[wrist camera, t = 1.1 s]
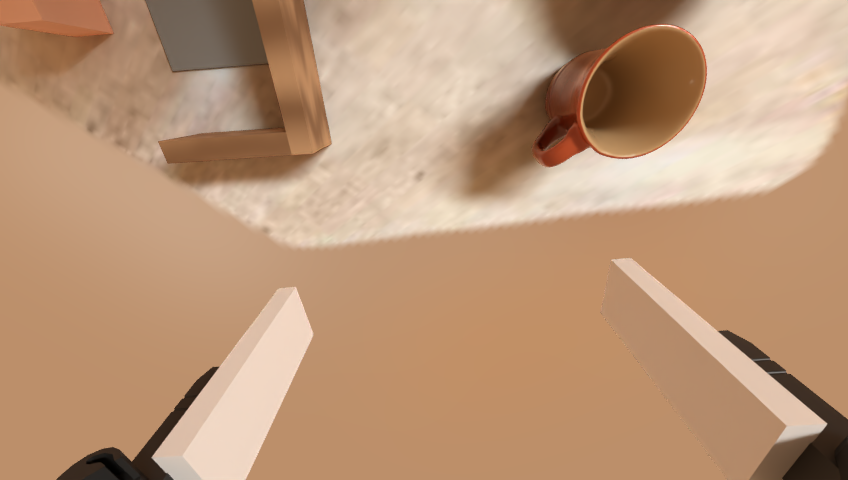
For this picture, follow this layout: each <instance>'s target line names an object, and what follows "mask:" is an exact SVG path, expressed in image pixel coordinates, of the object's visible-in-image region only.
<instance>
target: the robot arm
mask: <svg viewBox="0 0 848 480" xmlns="http://www.w3.org/2000/svg"><path fill="white" fill-rule="evenodd" d="M601 314H602V315H603V317H604V318H605V320H606V321H607V322H608V323H609V325H610V326H611V327H612V329H613V330H614V331H615V333H616V334H617V335H618V336H619V338H620V339H621V341H622V342H623V343H624V344H625V346H626V347H627V348H628V350H629V351H630V352H631V354H632V355H633V356H634V358H635V359H636V360H637V361H638V363H639V364H640V365H641V367H642V368H643V369H644V371H645V372H646V373H647V375H648V376H649V377H650V378H651V380H652V381H653V382H654V384H655V385H656V387H657V388H658V389H659V390H660V392H661V393H662V394H663V396H664V397H665V398H666V400H667V401H668V402H669V404H670V405H671V406H672V408H673V409H674V410H675V411H676V413H677V414H678V415H679V417H680V418H681V419H682V421H683V422H684V423H685V425H686V426H687V427H688V429H689V430H690V431H691V432H692V434H693V435H694V436H695V438H696V439H697V440H698V441H699V443H700V444H701V446H702V447H703V448H704V450H705V451H706V452H707V453H708V455H709V456H710V457H711V459H712V460H713V461H714V463H715V464H716V465H717V466H718V468H719V469H720V471H721V472H722V473H723V474H724V476H725V477H726V478H727V480H848V419H847V418H845V417H844V416H843V415H841V414H840V413H839V412H838V411H836V410H835V409H834V408H833V407H831V406H830V405H829V404H827V403H826V402H825V401H824V400H823V399H821V398H820V397H819V396H817V395H816V394H815V393H813V392H812V391H811V390H810V389H809V388H807V387H806V386H805V385H804V384H802V383H801V382H800V381H798V380H797V379H796V378H795V377H793V376H792V375H791V374H787V373H786V370H785V369H783V368H782V367H781V366H780V365H778V364H777V363H776V362H774V361H771V360H770V358H769V357H768V356H767V355H766V354H764V353H763V352H762V351H761V350H759V349H758V348H757V347H755V346H754V345H753V344H752V343H750V342H748V341H747V340H745V339H743V338H741V337H739V336H737V335H735V334H733V333H732V332H730V331H728V330H727V331H716V330H715V329H714V328H713V327H712V326H711V325H710V324H708V323H707V322H706V321H705V320H704V319H702V318H701V317H700V316H699V315H698V314H697V313H695V312H694V311H693V310H692V309H691V308H689V307H688V306H687V305H686V304H685V303H683V302H682V301H681V300H680V299H679V298H678V297H676V296H675V295H674V294H673V293H672V292H670V291H669V290H668V289H667V288H666V287H664V286H663V285H662V284H661V283H660V282H659V281H657V280H656V279H655V278H654V277H653V276H651V275H650V274H649V273H648V272H647V271H646V270H644V269H643V268H642V267H641V266H640V265H638V264H637V263H636V262H635V261H634V260H632V259H631V258H625V259H615V260H614V259H613V260H611V262H610V267H609V272H608V278H607V282H606V287H605V293H604V298H603V303H602V308H601ZM312 337H313V332H312V329H311V327H310V324H309V321H308V318H307V316H306V313H305V311H304V308H303V305H302V302H301V300H300V297H299V294H298V292H297V289H296V287H289V288H279V289H278V290H277V291H276V293H275V294H274V295H273V297H272V298H271V299H270V301H269V302H268V303H267V305H266V306H265V307H264V309H263V310H262V311H261V313H260V314H259V315H258V317H257V318H256V319H255V321H254V322H253V323H252V325H251V326H250V327H249V329H248V330H247V331H246V333H245V334H244V335H243V336H242V338H241V339H240V341H239V342H238V343H237V345H236V346H235V347H234V348H233V350H232V351H231V352H230V354H229V355H228V356H227V358H226V359H225V361H224V362H223V363H222V365H221V366H220V367H212V368H211V369H210V370H209V371H207V372H206V373H205V374H204V375H203V376H201V377H200V378H199V379H198V380H197V381H196V382H195V383H194V384H193V386H192V387H191V389H189V391H188V392H187V393H186V395H185V398H184V399H182V400H181V401H180V402H179V403H178V405H177V406H176V407H175V408H174V409H175V410H174V412H171V413H170V415H169V416H168V417H167V418H166V420H165V421H164V422H163V424H162V425H161V426H160V427H159V428H158V430H157V431H156V432H155V434H154V435H153V436H152V437H151V439H150V440H149V441H148V442H147V444H146V445H145V446H144V448H143V449H142V450H141V451H140V452H139V454H138V455H137V456H136V457H135V459H134V460H133V461H132V462H131V461H130V460H129V459H128V458H127V457H126V456H125V455H124V454H123V453H122V452H121V451H120V450H119V449H116V448H114V447H112V448H105V449H101V450H99V451H96V452H94V453H92V454H90V455H87V456H86V457H84V458H83V459H81V460H80V461H78V462H77V463H75V464H74V465H72V466H71V467H70V468H69V469H68V470H66V471H65V472H64V473H63V474H62V475H61V476H60V477H58V478H57V480H245V479H246V478H247V475H248V473H249V471H250V469H251V467H252V465H253V463H254V461H255V458H256V456H257V454H258V452H259V450H260V448H261V446H262V443H263V441H264V439H265V437H266V435H267V433H268V431H269V429H270V426H271V424H272V422H273V420H274V418H275V416H276V414H277V412H278V409H279V407H280V405H281V403H282V401H283V399H284V397H285V394H286V392H287V390H288V388H289V386H290V384H291V381H292V380H293V377H294V375H295V373H296V371H297V369H298V367H299V365H300V362H301V360H302V358H303V356H304V354H305V352H306V350H307V348H308V345H309V343H310V341H311V339H312Z"/></svg>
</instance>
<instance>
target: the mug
mask: <svg viewBox="0 0 848 480" xmlns="http://www.w3.org/2000/svg"><path fill="white" fill-rule="evenodd" d="M706 76H707V66H706V59H705V55H704V52H703V49H702V47H701V45H700V44H699V42H698V41H697V39H696V38H695V37H694V36H693V35H692V34H691V33H689V32H688V31H686V30H685V29H683V28H680V27H678V26H674V25H669V24H655V25H649V26H644V27H641V28H638V29H636V30H634V31H631V32H629V33H628V34H626V35H624V36H622V37H621V38H619V39H618V40H617V41H615V42H614V43H613V44H611V45H610V46H609V47H608V48H604V49H599V50H593V51H588V52H585V53H583V54H580V55H579V56H577V57H575V58H574V59H572V60H571V61H570V62H568V63H567V64H565V65H564V66H563V67H562V68H561V69H560V70H559V71H558V72H557V73H556V74H555V76H554V77H553V79H552V81H551V82H550V85H549V87H548V90H547V94H546V101H545V108H546V112H547V115H548V117H549V119H550V121H549V122H548V124H547V125H546V126H545V128H544V129H543V131H542V132H541V134H540V135H539V136H538V137H537V139H536V140H535V142H534V143H533V146H532V154H533V156H534V158H535V159H536V160H537V162H538V163H539V164H541V165H542V166H545V167H554V166H557V165H559V164H561V163H563V162H564V161H566V160H567V159H569V158H570V157H572V156H574V155H575V154H578V153H580V152H582V151H584V150H585V149H587V148H592V149H593V150H594V151H596V152H597V153H599V154H601V155H603V156H607V157H611V158H618V159H628V158H635V157H639V156H643V155H646V154H648V153H651V152H653V151H655V150H657V149H658V148H660V147H662V146H663V145H665V144H666V143H668V142H669V141H670V140H671V139H673V138H674V137H675V136H676V135H677V134H678V133H679V132H680V131H681V130H682V129H683V128H684V127H685V125H686V124H687V123H688V121H689V120H690V119H691V117H692V116H693V114H694V113H695V111H696V109H697V107H698V105H699V103H700V101H701V98H702V95H703V92H704V89H705V84H706ZM564 136H565V137H564ZM562 137H564V138H563V139H562V140H561V141H560V142H559V143H557V144H556V145H555V146H553V147H552V148H550V149H548V148H549V146H550V145H551V144H553V143H554V142H555V141H557V140H559V139H560V138H562ZM547 149H548V150H547Z"/></svg>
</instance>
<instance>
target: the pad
mask: <svg viewBox="0 0 848 480" xmlns="http://www.w3.org/2000/svg"><path fill="white" fill-rule="evenodd" d="M145 1H146V3H147V6H148V8H149V11H150V14H151V16H152V19H153V21H154V24H155V27H156V29H157V32H158V34H159V37H160V40H161V42H162V45H163V47H164V50H165V53H166V55H167V58H168V61H169V63H170V66H171V68H172V71H183V70H195V69H208V68H220V67H232V66H245V65H257V64H268V60H267V56H266V52H265V48H264V45H263V41H262V37H261V33H260V29H259V25H258V21H257V17H256V13H255V10H254V6H253V2H252V0H145Z"/></svg>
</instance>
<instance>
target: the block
mask: <svg viewBox="0 0 848 480" xmlns="http://www.w3.org/2000/svg"><path fill="white" fill-rule="evenodd" d="M0 25H1V26H8V27H14V28H21V29H27V30H33V31H40V32H46V33H53V34H59V35H66V36H72V37H79V36H90V35H101V34H113V31H112V28H111V26H110V24H109V21H108V19H107V17H106V15H105V12H104V10H103V8H102V5H101V3H100V1H99V0H0Z"/></svg>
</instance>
